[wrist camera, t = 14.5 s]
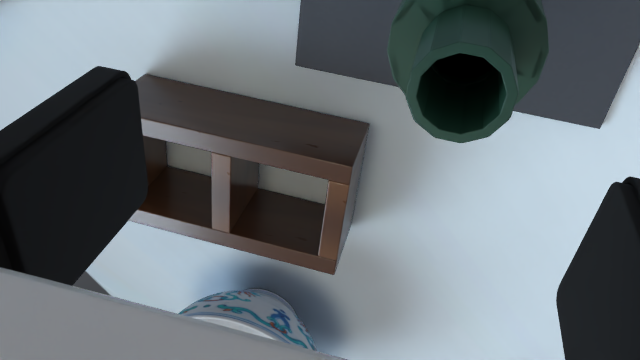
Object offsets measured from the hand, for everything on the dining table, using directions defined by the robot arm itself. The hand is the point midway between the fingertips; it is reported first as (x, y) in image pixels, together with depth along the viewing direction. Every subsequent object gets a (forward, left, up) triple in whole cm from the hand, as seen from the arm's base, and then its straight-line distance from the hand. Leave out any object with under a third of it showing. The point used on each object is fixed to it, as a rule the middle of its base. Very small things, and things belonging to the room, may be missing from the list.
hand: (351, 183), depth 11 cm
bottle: (+1, +2, -25) cm, 25 cm away
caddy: (+17, -11, -25) cm, 32 cm away
